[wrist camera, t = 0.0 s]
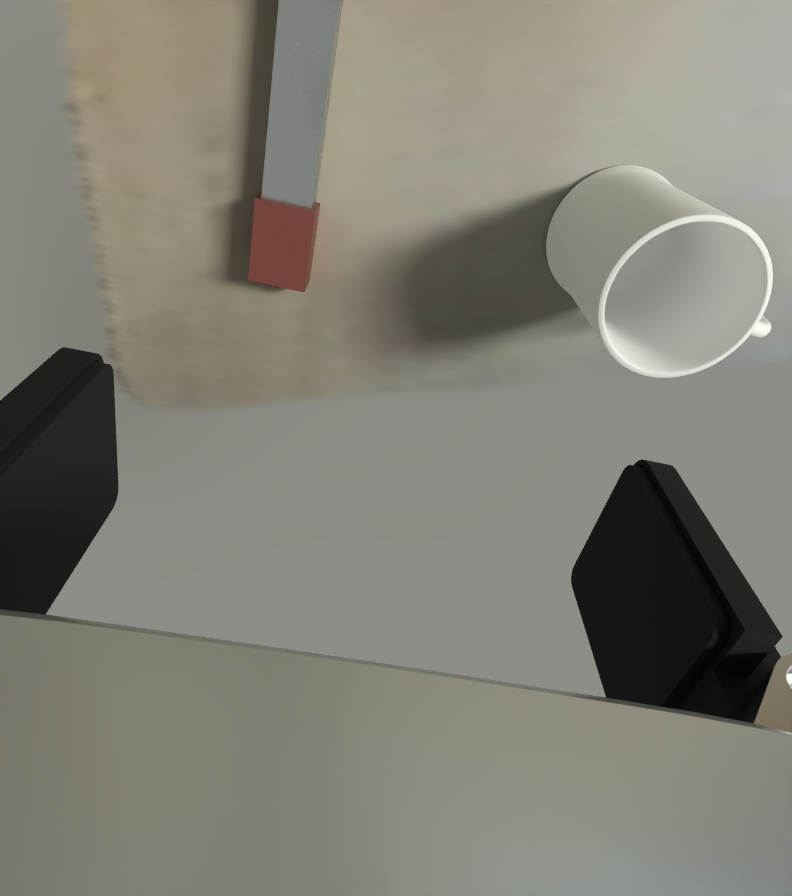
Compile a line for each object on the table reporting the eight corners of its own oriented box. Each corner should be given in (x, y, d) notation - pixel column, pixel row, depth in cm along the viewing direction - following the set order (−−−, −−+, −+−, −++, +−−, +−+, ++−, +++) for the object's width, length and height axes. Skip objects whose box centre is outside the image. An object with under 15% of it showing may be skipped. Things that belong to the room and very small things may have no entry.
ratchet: (252, -247, 28) (215, -318, 22) (424, -195, 29) (428, -252, 23) (222, 261, 40) (193, 294, 35) (341, 287, 41) (332, 323, 36)
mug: (749, 235, 39) (869, 300, 29) (657, 344, 43) (734, 434, 33) (602, 136, 36) (678, 170, 26) (519, 263, 40) (556, 335, 30)
